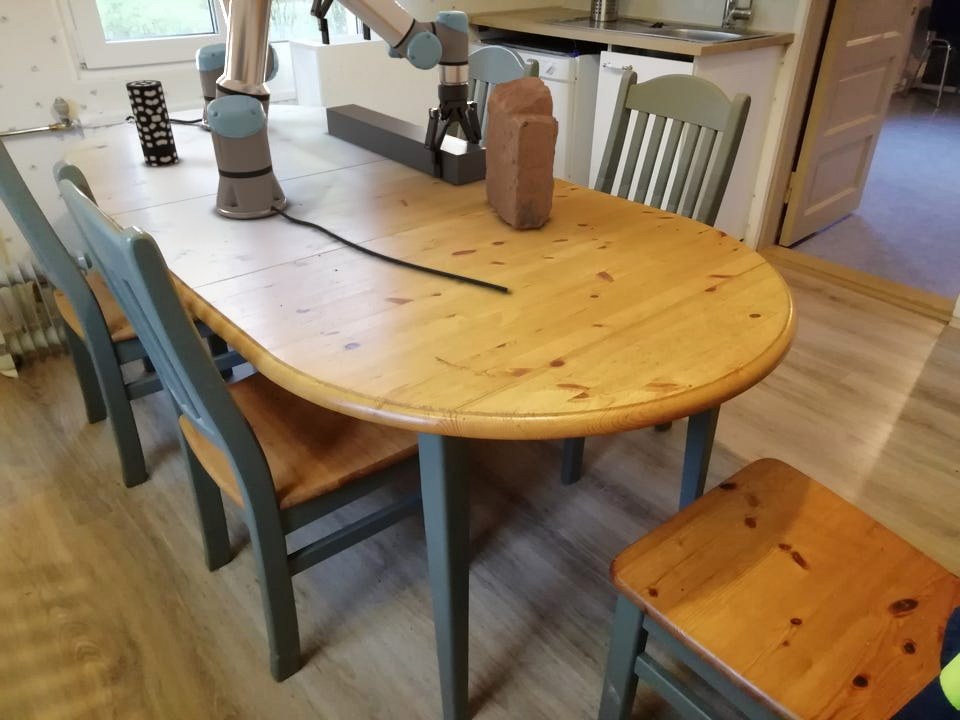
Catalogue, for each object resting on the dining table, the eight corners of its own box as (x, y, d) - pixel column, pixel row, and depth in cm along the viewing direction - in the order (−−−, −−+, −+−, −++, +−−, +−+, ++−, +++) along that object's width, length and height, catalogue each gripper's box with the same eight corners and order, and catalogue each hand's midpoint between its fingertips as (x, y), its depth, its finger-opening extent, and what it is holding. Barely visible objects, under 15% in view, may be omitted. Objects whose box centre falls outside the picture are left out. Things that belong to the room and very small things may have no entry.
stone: (564, 226, 149) (572, 89, 135) (516, 232, 146) (519, 92, 132) (527, 198, 167) (531, 73, 153) (483, 203, 164) (483, 76, 149)
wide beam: (486, 177, 179) (487, 148, 174) (457, 185, 173) (457, 155, 169) (355, 128, 219) (353, 103, 214) (328, 133, 213) (325, 108, 209)
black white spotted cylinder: (184, 157, 190) (167, 80, 179) (169, 166, 183) (151, 87, 172) (155, 156, 190) (136, 79, 179) (139, 165, 183) (119, 86, 172)
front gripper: (477, 74, 177) (477, 161, 189) (406, 85, 164) (410, 177, 176) (497, 79, 172) (495, 167, 184) (425, 90, 160) (428, 184, 172)
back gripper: (371, -46, 195) (376, 36, 206) (291, -44, 181) (301, 44, 192) (386, -45, 190) (390, 39, 201) (305, -43, 176) (314, 47, 187)
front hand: (454, 172), depth 180 cm, fingers closed on wide beam, 10 cm apart
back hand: (347, 42), depth 197 cm, fingers open, 13 cm apart
